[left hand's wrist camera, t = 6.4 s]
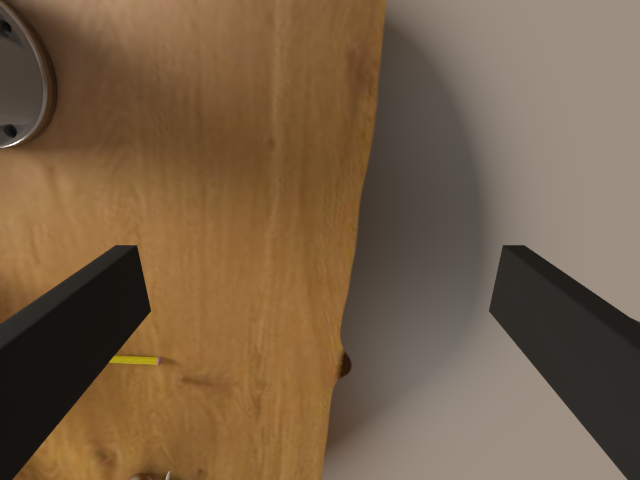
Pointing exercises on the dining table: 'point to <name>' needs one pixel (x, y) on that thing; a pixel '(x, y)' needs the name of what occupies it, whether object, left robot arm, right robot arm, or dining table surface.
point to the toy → (145, 477)
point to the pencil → (136, 360)
